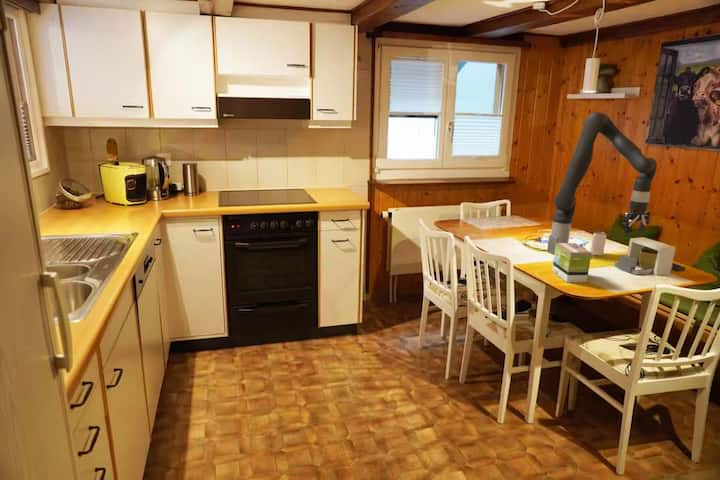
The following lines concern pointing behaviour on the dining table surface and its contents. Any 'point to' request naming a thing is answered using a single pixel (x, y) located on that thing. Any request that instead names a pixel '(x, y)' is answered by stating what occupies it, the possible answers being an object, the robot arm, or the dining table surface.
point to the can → (598, 243)
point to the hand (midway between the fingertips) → (633, 233)
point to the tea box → (571, 262)
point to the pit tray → (677, 267)
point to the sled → (631, 265)
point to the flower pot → (647, 258)
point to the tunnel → (663, 255)
